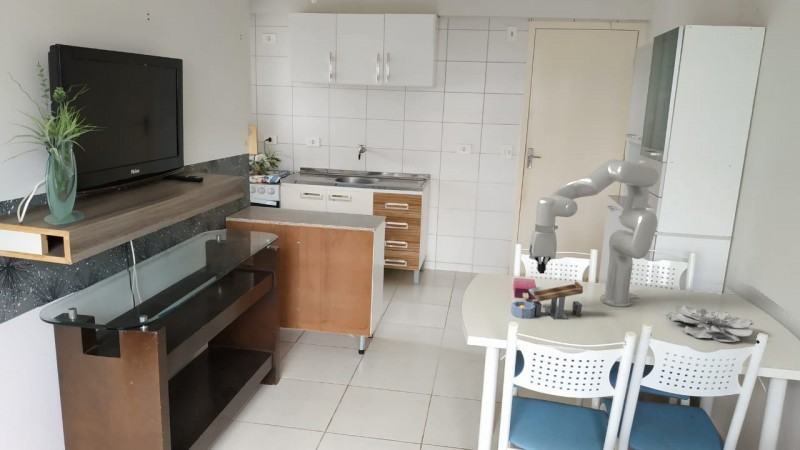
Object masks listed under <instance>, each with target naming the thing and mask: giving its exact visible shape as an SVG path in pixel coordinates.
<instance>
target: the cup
mask: <svg viewBox="0 0 800 450" xmlns="http://www.w3.org/2000/svg"><path fill="white" fill-rule="evenodd" d="M521 305H523V306H525V307H526V308H521V307H519V306H521ZM510 307H511V309H510V313H511V315H512V316H513V317H515V318H519V319H532V318H534V317H535V306H534V304H533V302H530V301H526V300H515V301H514V302H511V306H510Z"/></svg>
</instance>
